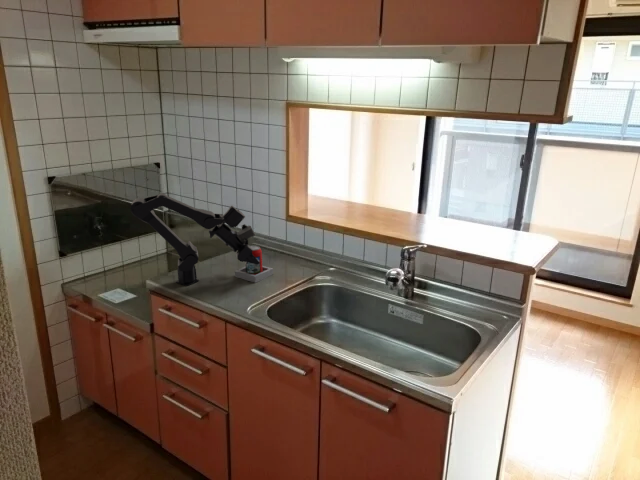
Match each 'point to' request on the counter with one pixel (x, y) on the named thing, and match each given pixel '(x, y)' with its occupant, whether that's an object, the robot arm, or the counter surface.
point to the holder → (254, 278)
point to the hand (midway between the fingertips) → (257, 259)
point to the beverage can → (255, 268)
